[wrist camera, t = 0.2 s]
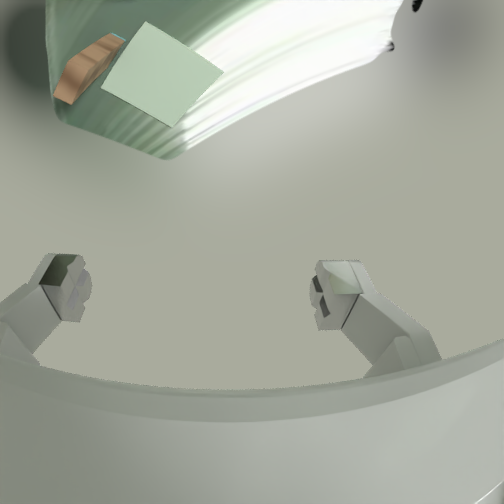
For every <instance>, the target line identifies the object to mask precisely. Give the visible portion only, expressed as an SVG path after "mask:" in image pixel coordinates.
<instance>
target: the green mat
mask: <svg viewBox="0 0 504 504" xmlns="http://www.w3.org/2000/svg"><path fill="white" fill-rule="evenodd" d="M223 73H224V72H223V71H222V70H220V69H219V68H217V67H216V66H215V65H213V64H212V63H211V62H209V61H208V60H206V59H205V58H203V57H202V56H200V55H199V54H198V53H196V52H195V51H193V50H192V49H190V48H189V47H187V46H185V45H184V44H182V43H181V42H179V41H178V40H176V39H174V38H173V37H171V36H170V35H168V34H166V33H165V32H163V31H161V30H160V29H158V28H156V27H154V26H153V25H151V24H149V23H147V22H145V23H144V24H143V25H142V27H141V28H140V29H139V30H138V32H137V33H136V34H135V36H134V37H133V39H132V40H131V41H130V43H129V44H128V46H127V47H126V48H125V50H124V51H123V53H122V54H121V56H120V57H119V59H118V60H117V62H116V63H115V65H114V67H113V68H112V70H111V71H110V73H109V75H108V76H107V78H106V80H105V81H104V83H103V85H102V86H101V88H102V89H104V90H106V91H108V92H110V93H111V94H113V95H115V96H117V97H119V98H121V99H123V100H124V101H126V102H128V103H130V104H132V105H133V106H135V107H137V108H139V109H140V110H142V111H144V112H146V113H147V114H149V115H151V116H153V117H154V118H156V119H158V120H160V121H161V122H163V123H165V124H166V125H168V126H170V127H171V128H172V127H173V126H174V125H175V124H176V122H177V121H178V120H179V119H180V118H181V117H182V116H183V114H184V113H185V112H186V111H187V110H188V109H189V108H190V107H191V106H192V104H193V103H194V102H195V101H196V100H197V99H198V98H199V97H200V96H201V95H202V94H203V93H204V92H205V91H206V90H207V89H208V88H209V87H210V86H211V85H212V84H213V83H214V82H215V81H216V80H217V79H218V78H219V77H220V76H221V75H222V74H223Z"/></svg>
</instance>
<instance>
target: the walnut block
mask: <svg viewBox="0 0 504 504" xmlns="http://www.w3.org/2000/svg"><path fill="white" fill-rule="evenodd" d="M125 41H126V40H125V39H123V38H121V37H119V36H117V35H115V34H113V33H109V34H108V35H106V36H104V37H103V38H101V39H99V40H98V41H96V42H95V43H93V44H92V45H90V46H88V47H87V48H85V49H84V50H83V51H81V52H80V53H78V54H77V55H75V56H74V57H73V58H71V59H70V60H69V61H68V63H67V65H66V67H65V69H64V71H63V73H62V75H61V78H60V80H59V82H58V85H57V87H56V90H55V92H54V95H53V96H54V97H56V98H58V99H60V100H62V101H65V102H67V103H69V104H71V105H72V104H73V102H74V101H75V100H76V99H77V98H78V97H79V96H80V95H81V94H82V93H83V92H84V90H85V89H86V88H87V87H88V86H89V85H90V84H91V83H92V82H93V81H94V80H95V79H96V78H97V77H98V76H99V75H100V74H101V73H102V72H103V71H104V70H106V69H107V68H108V67H109V66H110V64H111V62H112V61H113V59H114V58H115V56H116V55H117V53H118V51H119V50H120V49H121V47H122V46H123V44H124V43H125Z"/></svg>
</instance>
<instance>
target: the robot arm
mask: <svg viewBox="0 0 504 504" xmlns="http://www.w3.org/2000/svg"><path fill="white" fill-rule="evenodd" d="M84 266H85V261H84V259H83V257H82V256H80V255H73V254H53V253H48V254H46V255H45V256H44V258H43V259H42V261H41V262H40V264H39V266H38V267H37V269H36V270H35V272H34V274H33V275H32V277H31V279H30V281H29V282H28V284H24V285H22V286H21V287H20V288H18V289H17V290H16V291H14V292H13V293H12V294H10V295H9V296H8V297H7V298H6V299H4V300H3V301H2V302H0V504H504V339H501V340H497V341H495V342H493V343H490V344H487V345H485V346H482V347H479V348H477V349H474V350H471V351H468V352H465V353H462V354H459V355H456V356H453V357H450V358H447V359H443V360H442V358H441V356H440V354H439V352H438V349H437V347H436V345H435V343H434V341H433V339H432V336H431V334H430V332H429V331H428V330H427V329H426V328H425V327H423V326H422V325H421V324H420V323H418V322H417V321H416V320H415V319H413V318H412V317H411V316H410V315H408V314H407V313H406V312H404V311H403V310H402V309H400V308H399V307H398V306H397V305H395V304H394V303H393V302H391V301H390V300H389V299H388V298H386V297H385V296H384V295H382V294H381V293H377V292H376V290H375V288H374V286H373V284H372V282H371V280H370V278H369V276H368V274H367V272H366V270H365V268H364V266H363V264H362V262H361V261H359V260H346V261H344V260H343V261H340V260H339V261H338V260H329V261H328V260H319V261H318V263H317V264H316V268H315V271H316V274H317V275H316V276H315V277H314V278H312V281H311V284H310V300H311V304H312V305H313V306H314V307H315V308H316V309H317V310H316V312H315V318H316V322H317V326H318V329H319V330H338V329H342V330H341V331H342V332H343V333H344V334H345V335H346V336H347V338H348V339H349V340H350V341H351V342H352V343H353V344H354V345H355V346H356V347H357V348H358V349H359V351H360V352H361V353H362V354H363V355H364V356H365V357H366V358H367V359H368V360H369V361H370V363H371V364H372V365H373V366H372V367H371V368H370V370H369V371H368V372H367V373H366V374H365V376H364V377H363V378H362V379H356V380H350V381H343V382H336V383H329V384H321V385H311V386H301V387H289V388H275V389H274V388H273V389H250V390H211V389H185V388H169V387H158V386H148V385H138V384H131V383H123V382H116V381H110V380H104V379H98V378H92V377H87V376H81V375H77V374H72V373H68V372H63V371H59V370H55V369H51V368H47V367H43V366H40V363H39V361H37V359H36V358H35V357H34V356H33V355H32V354H33V353H34V352H35V350H36V349H37V348H38V347H39V346H40V345H41V343H42V342H43V341H44V340H45V339H46V338H47V337H48V336H49V335H50V334H51V332H52V331H53V330H54V329H55V328H56V327H57V326H58V325H59V324H60V323H61V321H71V322H80V320H81V317H82V315H83V312H84V310H85V306H84V302H85V301H86V300H88V299H89V297H90V294H91V289H92V282H91V277H90V274H89V273H88V272H87V271H86V270H85V269H84Z"/></svg>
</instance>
